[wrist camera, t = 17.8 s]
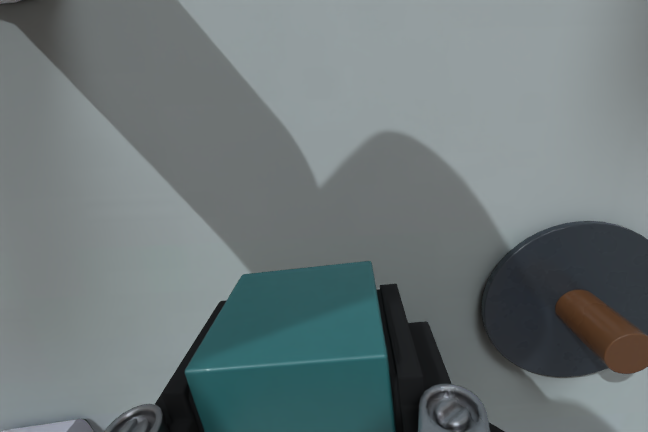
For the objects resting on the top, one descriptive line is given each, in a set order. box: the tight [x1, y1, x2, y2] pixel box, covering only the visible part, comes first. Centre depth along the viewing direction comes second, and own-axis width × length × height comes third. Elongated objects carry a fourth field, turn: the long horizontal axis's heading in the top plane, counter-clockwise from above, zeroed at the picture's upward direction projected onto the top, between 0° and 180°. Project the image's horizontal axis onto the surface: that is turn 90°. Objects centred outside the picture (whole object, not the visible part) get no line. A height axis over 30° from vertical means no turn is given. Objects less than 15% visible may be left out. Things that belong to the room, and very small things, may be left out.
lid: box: [482, 221, 648, 377], centre depth 22 cm, size 13×13×6 cm
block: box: [185, 261, 396, 432], centre depth 10 cm, size 4×4×4 cm
